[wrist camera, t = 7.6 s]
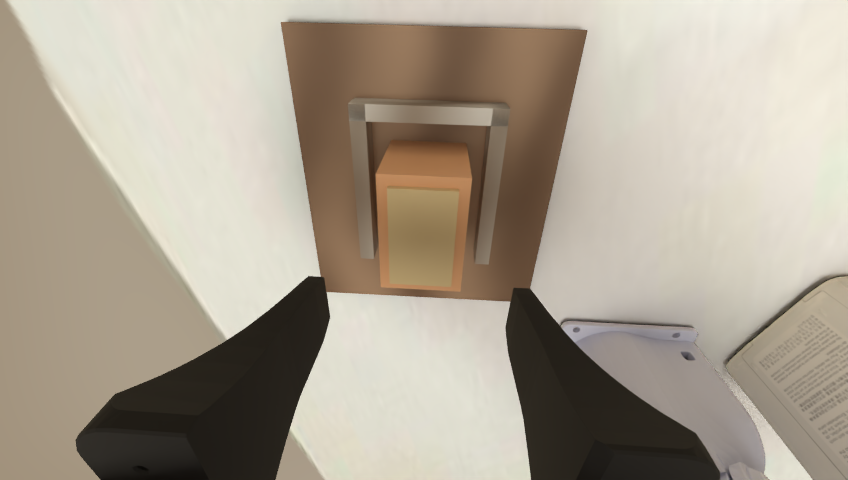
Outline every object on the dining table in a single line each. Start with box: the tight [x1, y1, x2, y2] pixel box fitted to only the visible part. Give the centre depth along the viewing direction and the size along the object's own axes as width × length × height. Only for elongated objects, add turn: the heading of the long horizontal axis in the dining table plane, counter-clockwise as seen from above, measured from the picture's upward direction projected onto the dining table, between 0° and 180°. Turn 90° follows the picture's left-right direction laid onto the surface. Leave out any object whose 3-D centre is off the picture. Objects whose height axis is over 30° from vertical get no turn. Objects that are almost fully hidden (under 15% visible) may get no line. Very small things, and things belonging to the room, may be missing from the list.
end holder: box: [281, 22, 587, 301], centre depth 20 cm, size 14×16×2 cm
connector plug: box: [376, 140, 472, 292], centre depth 18 cm, size 4×6×5 cm, turn 178°
